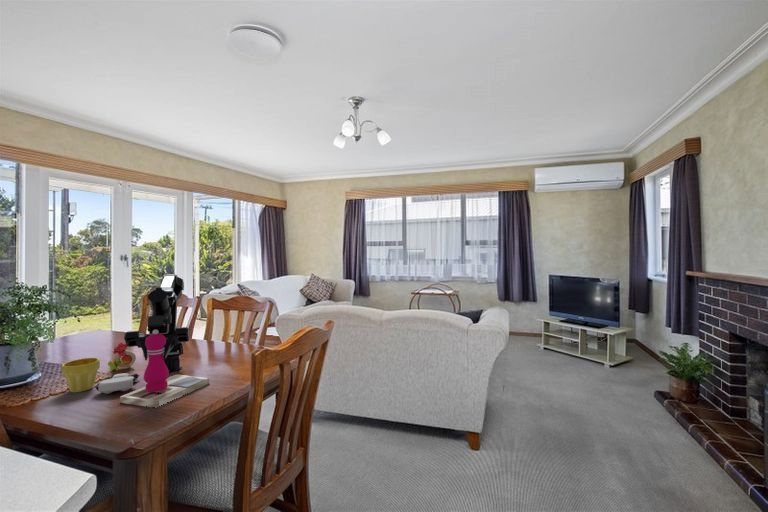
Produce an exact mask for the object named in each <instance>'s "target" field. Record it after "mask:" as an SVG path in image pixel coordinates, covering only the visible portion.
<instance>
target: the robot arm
mask: <svg viewBox="0 0 768 512" xmlns="http://www.w3.org/2000/svg"><path fill="white" fill-rule="evenodd" d="M183 291H185V282H184V279H183V278H181V277H178V275H177V274H176V273H175V274H171V273H170V274H168V273H167V274H164V275H162V279H160V287H155V289H154V290H152V291H149V292H150V293H148V294H147V299H148V303H149V307H150V308H149V309H150V310H151V311H152V312H151V315H149V316H147V321H146V322H147V324H146V327H147V332H148V333H145V332H141V331H140V330H129V331H126V332H125V333H124V337H123V338H124V339H123V340H124V342H125V344H126V345H127V348H129V347H131V348H132V347H133V348H134V347H137V348H138V349H140V348H141V350H142V353H143V356H144V360H145V361H147V360H148V359H149V355H148V354H147V352H148V351H147V350H148V348H147V347H146V346H145V340H146V338H147V337H148V336H150V335H152V334H153V333H152V332H153V330H155V329H157V330H158V331H159V333H158V334H162V335H164V336H165V338H166V344H165V345H164V348H165V349H164V350H165V352H163V360H164V363H165V365H166V366H167V368H168V371H169V374H170V373H174V372H176V371H178V370H182V369H183V366H181V365H180V363H181V362H180V361H181V360H180V356H181V355H184V344H183V343H187V342H189V341H190V330H189V328H188V327H187V326H181V327H177V319H178V318H177V317H178V314H177V313H178V300H180V298H181V297H182V296H183ZM181 368H182V369H181ZM173 371H174V372H173Z"/></svg>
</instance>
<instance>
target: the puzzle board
mask: <svg viewBox="0 0 768 512" xmlns="http://www.w3.org/2000/svg"><path fill="white" fill-rule="evenodd" d="M166 381H167V385H168V386H167V388H166V389H164V390H161V391H157V392H156V393H158V392H159V393H160V394H158V395H156V396H153V397H151V398H144V397H143V396H146V395H149V394H151V393H152V392H147V391H146V386H143V387H141V388H139V389H136V390H133V391H130V392H129V393H125V394H123V395H121V396H120V397H119V399H120V402H119V403H122V404H127V405H133V406H140V407H146V406H147V407H146V408H152V407H155V408H154V409H157V407H158V408H160V407H162V406H164V405H166V404H168V403H167V402H169V403H171V402H173V401H175V400H177V399H179V398H181V397H184V396H186V395H188V394H190V393H192V392H194V391H196V389H197V390H198V389H201V388H202V387H205V386H207V385H210V377H203V376H202V377H201V376H194V375H193V376H192V375H186V374H175V375H172V376H168V378H167V379H166ZM187 393H188V394H187ZM185 394H186V395H185ZM183 395H184V396H183ZM176 398H177V399H176ZM174 399H175V400H174ZM172 400H173V401H172ZM170 401H171V402H170ZM163 404H164V405H163ZM161 405H162V406H161ZM159 406H160V407H159Z"/></svg>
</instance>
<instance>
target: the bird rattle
mask: <svg viewBox="0 0 768 512" xmlns="http://www.w3.org/2000/svg"><path fill="white" fill-rule="evenodd" d="M127 348H128V346H127V345H126V343H122V342H119V343H118V345H117V346H115V347H114V348H113V354H114V355H115V357H114V358H113V360H111V361H109V362H108V363H107V366H108V367H109V370H110V371H118V372H119V367H120V368H128V369H131V367H132V366H133V365H134V363H135V362H136V359H137V357H136V354H135V353H134V352H133V351H132V350H128V349H127Z"/></svg>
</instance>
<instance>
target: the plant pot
mask: <svg viewBox="0 0 768 512" xmlns="http://www.w3.org/2000/svg"><path fill="white" fill-rule="evenodd" d="M100 362H101V361H100V358H98V357H83V358H77V359H73V360H70V361H66V362H64V363H63V364H62V365H61V372H62V373H61V374H62V376H64V377H65V380H66V383H67V386H68V389H69V392H70V393H82V392H85V391H89V390H91V389H93V388H94V387H93V386H95V383H96V379H97V373H98V371H99V369H100V364H101V363H100Z"/></svg>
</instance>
